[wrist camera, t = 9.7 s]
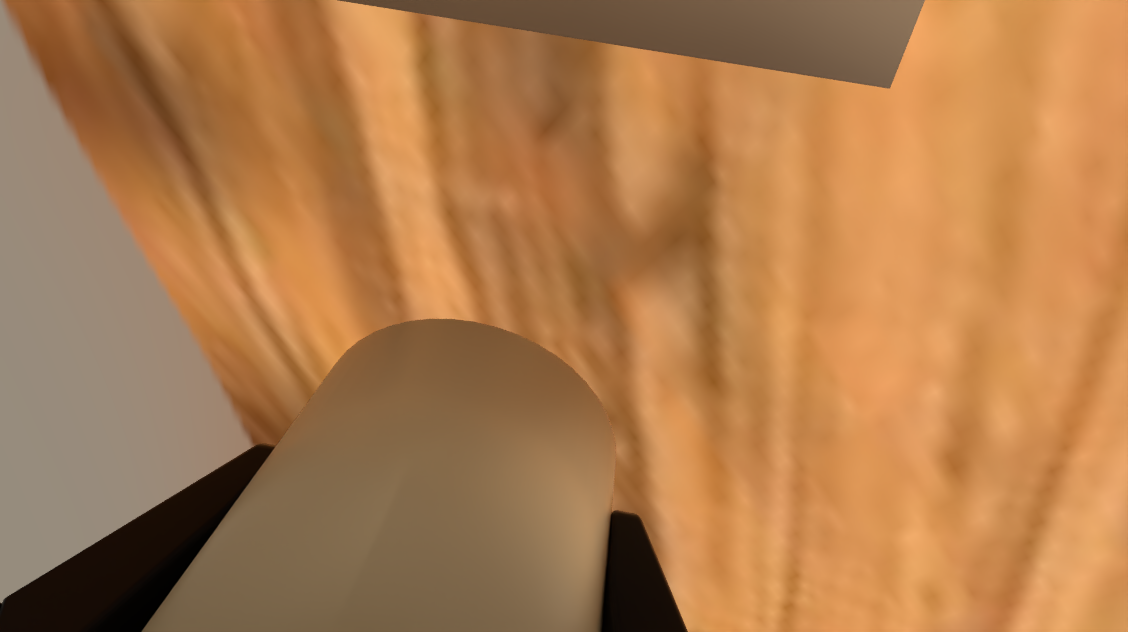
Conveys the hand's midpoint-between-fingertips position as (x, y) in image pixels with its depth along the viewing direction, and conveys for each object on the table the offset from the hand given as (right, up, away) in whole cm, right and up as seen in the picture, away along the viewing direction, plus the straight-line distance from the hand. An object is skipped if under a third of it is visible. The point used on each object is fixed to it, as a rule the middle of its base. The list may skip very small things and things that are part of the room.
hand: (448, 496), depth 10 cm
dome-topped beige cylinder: (0, +1, +1) cm, 1 cm away
